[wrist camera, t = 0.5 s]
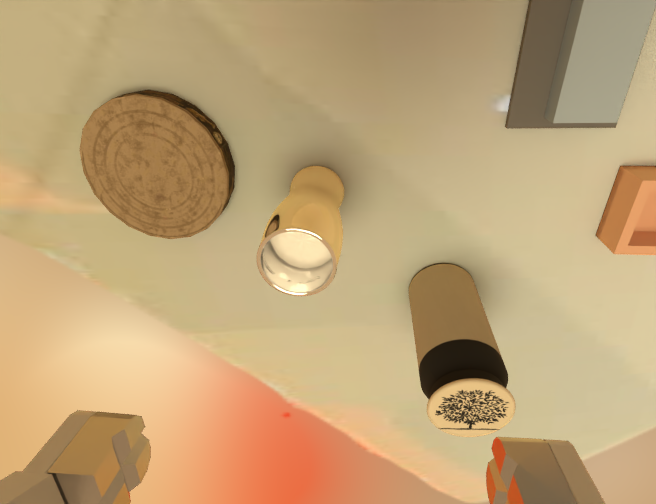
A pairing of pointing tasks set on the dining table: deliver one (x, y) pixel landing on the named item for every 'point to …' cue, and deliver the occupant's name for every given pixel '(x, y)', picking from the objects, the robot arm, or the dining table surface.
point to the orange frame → (631, 212)
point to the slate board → (598, 59)
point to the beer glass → (304, 234)
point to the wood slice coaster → (157, 163)
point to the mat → (540, 66)
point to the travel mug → (458, 354)
